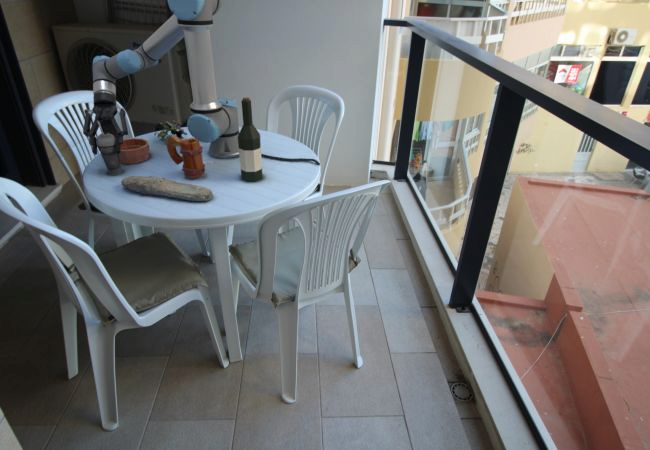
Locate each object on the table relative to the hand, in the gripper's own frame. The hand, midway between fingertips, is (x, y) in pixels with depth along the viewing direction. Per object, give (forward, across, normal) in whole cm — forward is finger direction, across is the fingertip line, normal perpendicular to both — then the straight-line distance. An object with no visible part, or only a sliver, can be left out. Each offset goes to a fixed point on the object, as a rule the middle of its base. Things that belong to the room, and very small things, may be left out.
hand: (106, 152), depth 143 cm
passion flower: (-18, -18, -32) cm, 41 cm away
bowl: (-6, -4, -19) cm, 20 cm away
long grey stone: (+19, -21, +6) cm, 29 cm away
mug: (+9, -28, -4) cm, 30 cm away
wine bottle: (+14, -51, 0) cm, 53 cm away
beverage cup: (+4, 0, -9) cm, 10 cm away
